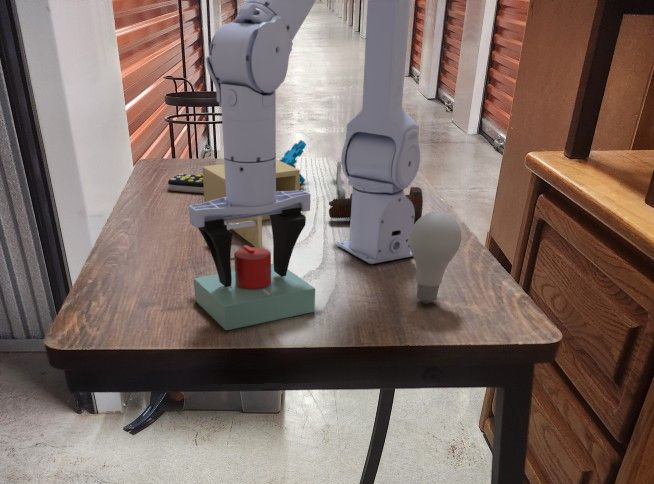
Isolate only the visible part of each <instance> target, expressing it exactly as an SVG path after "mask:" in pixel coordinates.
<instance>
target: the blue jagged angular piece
mask: <svg viewBox="0 0 654 484" xmlns="http://www.w3.org/2000/svg"><path fill="white" fill-rule="evenodd" d="M306 146H307V143H306V142H305V141H304V140H302V139H300V140H299V142H298V143H297V142H295V143H294V144H293V145H292V146H291V148H290V149H288V150H286V151H285V153H284V154H283V157H282V158H280V159H278V160H279V161H281V162H283V163H285V164H288V165H290V166H292V167H294V168H297V166H296V165H295V164H297V158H298V157H301V156H302V155H303V153H304V149H305V148H306ZM305 182H306V179H305V177H303V175H302V174H301V173H300V184H302V185H303V184H304V183H305ZM301 188H302V187H301V185H300V189H301Z"/></svg>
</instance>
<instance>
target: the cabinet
mask: <svg viewBox="0 0 654 484" xmlns="http://www.w3.org/2000/svg"><path fill="white" fill-rule="evenodd" d="M279 160H280V159H277V158H276V192H280V191H298V190H301V188H300V186H301V185H300V184H301V182H300V174H301V170H300V169H299V168H297V167H295V168H294V167H292V166H290V165H288V164H285V163H283V162H281V161H279ZM202 176H203V184H204V193H203V195H204V197H203V198H204V199H203V200H204V203H205V202H208V201H212V200H215V199H219V198H223V197H226V188H225V166H224V163H222V164H214V165H213V164H212V165H205V166H202ZM266 220H270V215H266V216H262V221H266ZM226 222H227V221H226Z"/></svg>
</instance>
